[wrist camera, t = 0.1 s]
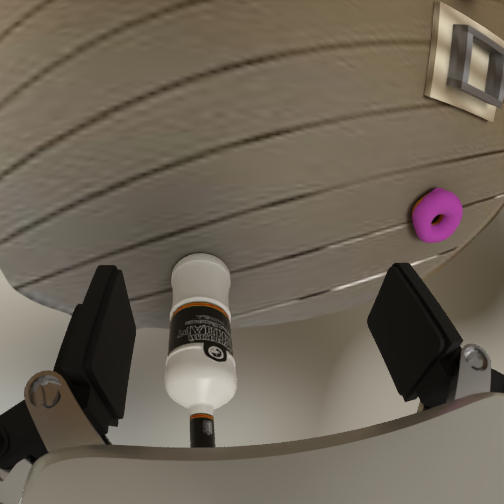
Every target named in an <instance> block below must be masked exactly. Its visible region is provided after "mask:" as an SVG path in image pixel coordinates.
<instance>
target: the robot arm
mask: <svg viewBox="0 0 504 504" xmlns="http://www.w3.org/2000/svg"><path fill="white" fill-rule="evenodd" d="M367 324H368V327H369V329H370V331H371V333H372V336H373V338H374V339H375V342H376V344H377V346H378V348H379V350H380V353H381V354H382V357H383V359H384V361H385V363H386V366H387V368H388V370H389V372H390V375H391V377H392V379H393V381H394V384H395V386H396V388H397V391H398V393H399V394H400V395H402V396H403V398H404V401H405V402H407V401H411V400H414V399H416V398H417V397H419V398H420V403H419V407H418V410H417V413H415V414H412V415H409V416H406V417H402V418H399V419H395V420H392V421H388V422H385V423H381V424H377V425H373V426H370V427H365V428H361V429H357V430H352V431H348V432H343V433H338V434H333V435H328V436H323V437H316V438H310V439H304V440H297V441H290V442H282V443H273V444H263V445H251V446H239V447H213V448H169V447H166V448H165V447H145V446H126V445H112V443H111V442H110V441H109V439H108V438H107V436H106V435H105V434H107V433H108V426H116V427H117V426H118V419H122V418H123V416H124V410H125V402H126V393H127V386H128V379H129V373H130V366H131V360H132V354H133V347H134V342H135V336H136V326H135V322H134V318H133V315H132V311H131V307H130V303H129V299H128V295H127V290H126V286H125V282H124V277H123V273H122V270H117V267H116V266H115V265H99V266H98V267H97V269H96V272H95V274H94V277H93V279H92V281H91V284H90V286H89V289H88V291H87V294H86V296H85V299H84V301H83V304H78V305H77V306H76V308H75V310H74V312H73V315H72V318H71V320H70V323H69V325H68V328H67V331H66V334H65V337H64V339H63V343H62V345H61V348H60V351H59V354H58V358H57V360H56V363H55V367H54V370H53V371H42V372H39V373H37V374H35V375H34V376H32V377H31V378H30V380H29V381H28V382H27V384H26V387H25V390H24V397H25V400H23V401H22V402H20V403H18V404H17V405H15V406H14V407H12V408H11V409H9V410H8V411H6V412H5V413H3V414H2V415H0V504H18V503H19V501H20V498H21V497H22V502H21V504H504V375H503V374H501V373H499V372H497V371H496V370H494V369H492V368H491V360H490V358H489V356H488V354H487V353H486V351H485V350H484V349H483V348H481V347H480V346H478V345H476V344H467V345H465V346H464V347H463V348H461V347H460V344H461V343H462V342H463V339H462V338H461V336H460V335H459V333H458V331H457V330H456V328H455V327H454V325H453V324H452V322H451V321H450V319H449V318H448V316H447V315H446V313H445V312H444V310H443V309H442V307H441V306H440V305H439V303H438V302H437V300H436V299H435V297H434V296H433V295H432V293H431V292H430V290H429V289H428V288H427V286H426V285H425V284H424V282H423V281H422V279H421V278H420V277H419V275H418V274H417V273H416V271H415V270H414V269H413V268H412V266H411V265H410V264H409V263H394V264H393V265H392V267H390V268H389V269H388V271H387V274H386V276H385V279H384V281H383V284H382V286H381V288H380V291H379V293H378V296H377V298H376V300H375V303H374V305H373V307H372V309H371V312H370V314H369V316H368V319H367ZM23 489H24V490H23Z"/></svg>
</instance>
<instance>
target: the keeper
mask: <svg viewBox="0 0 504 504" xmlns="http://www.w3.org/2000/svg"><path fill="white" fill-rule="evenodd" d="M424 95H425V96H428V97H431V98H434V99H437V100H440V101H442V102H445V103H448V104H450V105H453V106H456V107H458V108H461V109H463V110H465V111H468V112H470V113H473V114H475V115H477V116H479V117H482V118H484V119H486V120H488V121H491V122H493V120H494V115H495V110H496V107H498V108H501V107H502V102H503V96H504V41H503V40H501V39H500V38H498V37H497V36H496V35H494V34H493V33H491V32H490V31H488V30H487V29H485V28H484V27H482V26H481V25H479V24H478V23H476V22H475V21H473V20H472V19H470V18H468V17H467V16H465V15H463V14H462V13H460V12H458V11H456V10H455V9H453V8H451V7H449V6H447V5H446V4H444V3H442V2H434V13H433V27H432V39H431V48H430V57H429V65H428V72H427V79H426V85H425V91H424Z"/></svg>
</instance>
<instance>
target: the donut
mask: <svg viewBox="0 0 504 504" xmlns="http://www.w3.org/2000/svg"><path fill="white" fill-rule="evenodd" d="M462 212H463V210H462V205H461V202H460V200H459V199H458V197H457V196H456V195H455V194H454V193H452V192H449V191H446V190H444V189H442V188H436V189H434V190H433V191H431V192H430V193H428V194H427V195H425V196H424V197H422V198H421V199H420V200H419V201H418V202H417V203H416V204H415V206H414V207H413V210H412V220H413V225H414V229H415V231H416V234H417V236H418V237H419V239H420V240H422V241H424V242H427V243H435V242H440V241H443V240H445V239H447V238H448V237H449V236H451V235H452V234H453V232H454V231H455V230H456V228H457V227H458V225H459V223H460V221H461V218H462ZM439 214H440V215H439ZM437 215H439V218H438V219H437V221H435V222H434V223H431V222H432V220H433V218H434V217H435V216H437Z"/></svg>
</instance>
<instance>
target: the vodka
mask: <svg viewBox="0 0 504 504" xmlns="http://www.w3.org/2000/svg"><path fill="white" fill-rule="evenodd" d="M230 283H231V281H230V272H229V269H228V268H227V266H226V265H225V264H224V263H223V262H222V261H221V260H220V259H219V258H217V257H216V256H213V255H210V254H206V253H195V254H191V255H188V256H186V257H184V258H182V259H181V260H180V261H179V262H178V263H177V264H176V265H175V267H174V268H173V271H172V278H171V285H172V289H173V304H172V309H171V312H170V321H171V324H170V335H169V348H168V357H167V360H166V372H165V379H164V382H165V387H166V390H167V393H168V394H169V396H170V397H171V398H172V399H173V400H174V401H175V402H177V403H178V404H180V405H182V406H183V407H185V408H187V409H189V410H190V442H191V444H190V448H213V447H215V434H214V418H213V416H214V409H217V408H219V407H220V406H222V405H224V404H226V403H227V402H229V401H230V399H231V398H232V397H233V396H234V394H235V391H236V388H237V376H236V372H235V360H234V358H233V351H232V340H231V329H230V322H231V314H230V311H229V306H228V293H229V289H230Z"/></svg>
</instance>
